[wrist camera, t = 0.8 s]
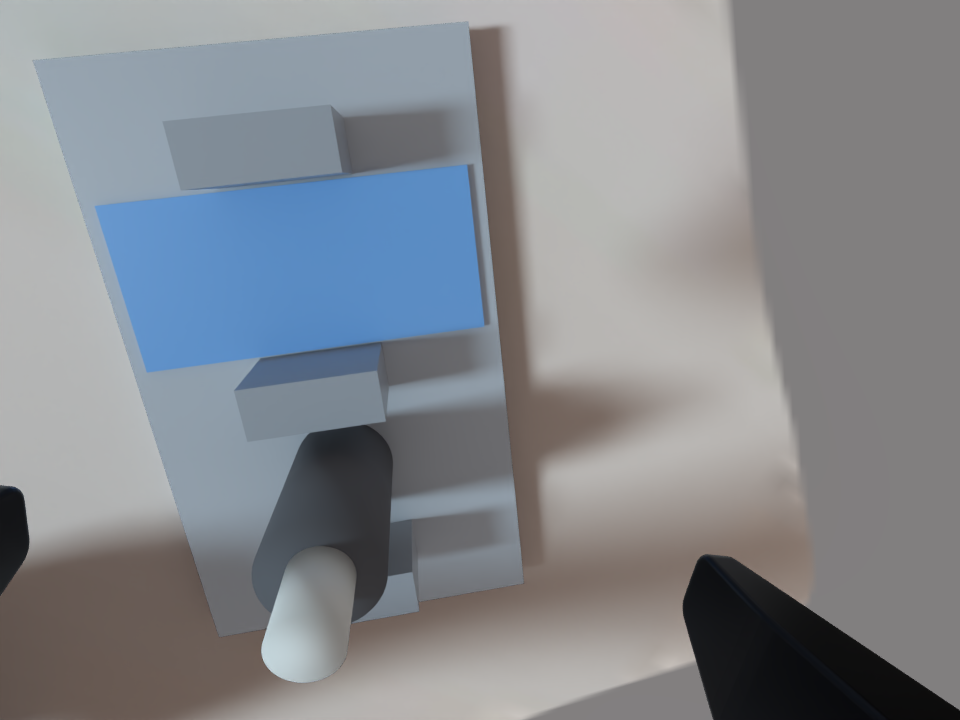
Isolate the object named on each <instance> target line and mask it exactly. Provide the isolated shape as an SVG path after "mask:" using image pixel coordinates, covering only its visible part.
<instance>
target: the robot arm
mask: <svg viewBox="0 0 960 720" xmlns="http://www.w3.org/2000/svg"><path fill="white" fill-rule="evenodd" d="M28 549H29V532H28V524H27V516H26V508H25V500H24V496H23V494H22V492H21V491H20V490H19V489H18V488H16V487H12V486H2V485H0V596H1V594H2V593H3V591H4V590H5V588H6V587H7V585H8V584H9V582H10V581H11V579H12V578H13V577H14V575H15V574H16V572H17V571H18V569H19V568H20V566H21V565H22V563H23V561H24V560H25V557H26V555H27V552H28ZM683 616H684V620H685V623H686V627H687V630H688V634H689V637H690V641H691V645H692V648H693V652H694V655H695V659H696V662H697V666H698V669H699V673H700V676H701V679H702V683H703V687H704V690H705V694H706V697H707V701H708V704H709V708H710V711H711V714H712V717H713V720H960V710H959V709H957V708H956V707H954V706H953V705H951V704H950V703H948V702H947V701H945V700H944V699H942V698H941V697H939V696H938V695H936V694H935V693H933V692H932V691H930V690H929V689H927V688H926V687H924V686H923V685H921V684H920V683H918V682H917V681H915V680H914V679H912V678H911V677H909V676H908V675H906V674H905V673H903V672H902V671H900V670H899V669H897V668H896V667H895V666H893V665H891V664H890V663H888V662H887V661H886V660H884V659H883V658H881V657H880V656H878V655H877V654H875V653H874V652H872V651H871V650H869V649H868V648H866V647H865V646H863V645H861V644H860V643H859V642H857V641H856V640H854V639H853V638H851V637H850V636H848V635H847V634H845V633H844V632H842V631H841V630H839V629H838V628H836V627H835V626H833V625H832V624H830V623H829V622H827V621H826V620H825V619H823V618H822V617H820V616H819V615H817V614H816V613H814V612H813V611H811V610H810V609H808V608H807V607H805V606H804V605H802V604H801V603H799V602H798V601H796V600H795V599H793V598H792V597H790V596H789V595H787V594H786V593H784V592H783V591H781V590H780V589H778V588H777V587H775V586H774V585H772V584H771V583H769V582H768V581H766V580H765V579H763V578H762V577H760V576H759V575H758V574H756V573H755V572H753V571H752V570H750V569H749V568H747V567H746V566H744V565H743V564H741V563H740V562H738V561H737V560H735V559H733V558H731V557H728V556H719V555H709V554H705V555H703V556H701V557H700V558H699V559H698V561H697V563H696V565H695V568H694V571H693V574H692V577H691V579H690V582H689V585H688V588H687V591H686V593H685V596H684V600H683Z"/></svg>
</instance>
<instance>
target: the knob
mask: <svg viewBox="0 0 960 720" xmlns="http://www.w3.org/2000/svg"><path fill="white" fill-rule="evenodd" d="M392 473H393V457H392V453H391V450H390V448H389V445H388V444H387V442H386V441H385V439H384V438H383V437H382V436H381V435H380V434H379V433H378V432H377V431H375V430H374V429H373V428H371V427H369V426H367V425H359V426H352V427H345V428H339V429H332V430H325V431H318V432H312V433H309V434H308V435H307V436H306V437H305V439H304V440H303V441H302V443H301V445H300V447H299V449H298V451H297V454H296V456H295V459H294V461H293V464H292V466H291V469H290V471H289V474H288V476H287V479H286V481H285V484H284V486H283V489H282V491H281V494H280V496H279V499H278V501H277V503H276V506H275V508H274V511H273V513H272V516H271V518H270V521H269V523H268V526H267V528H266V531H265V533H264V536H263V538H262V541H261V543H260V546H259V548H258V551H257V553H256V556H255V558H254V562H253V565H252V572H251V574H252V584H253V588H254V591H255V594H256V596H257V598H258V599H259V601H260V602H261V604H262V605H263V606H264V608H266V609H267V610H268V611H269V612H270V613H271V617H270V620H269V624H268V627H267V630H266V633H265V637H264V640H263V643H262V648H261V653H262V658H263V661H264V663H265V664H266V666H267V667H268V669H269V670H270V671H271V672H272V673H274V674H275V675H277V676H278V677H280V678H282V679H285V680H288V681H291V682H298V683H308V682H315V681H319V680H321V679H324V678H326V677H328V676H330V675H332V674H333V673H334V672H336V671H337V670H338V669H339V668H340V667H341V665H342V664H343V662H344V660H345V658H346V655H347V650H348V642H349V634H350V626H351V623H352V622H354V621H356V620H358V619H360V618H361V617H363V616H364V615H366V614H367V613H368V612H369V611H371V610H372V609H373V608H374V606H375V605H376V604H377V603H378V601H379V600H380V599H381V597H382V595H383V593H384V590H385V588H386V584H387V580H388V560H389V539H390V517H391V495H392Z"/></svg>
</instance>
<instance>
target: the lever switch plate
mask: <svg viewBox="0 0 960 720" xmlns="http://www.w3.org/2000/svg"><path fill="white" fill-rule="evenodd" d="M33 63H34V66H35V69H36V72H37V75H38V78H39V81H40V84H41V87H42V90H43V94H44V97H45V100H46V103H47V106H48V109H49V112H50V115H51V118H52V121H53V124H54V128H55V131H56V134H57V137H58V140H59V143H60V146H61V149H62V152H63V155H64V159H65V162H66V165H67V168H68V171H69V174H70V177H71V180H72V183H73V186H74V190H75V193H76V196H77V199H78V202H79V205H80V208H81V211H82V214H83V217H84V221H85V224H86V227H87V230H88V233H89V236H90V239H91V242H92V245H93V248H94V252H95V255H96V258H97V261H98V264H99V267H100V270H101V273H102V276H103V279H104V283H105V286H106V289H107V292H108V295H109V298H110V301H111V304H112V307H113V310H114V314H115V317H116V320H117V323H118V326H119V329H120V332H121V335H122V338H123V341H124V345H125V348H126V351H127V354H128V357H129V360H130V363H131V366H132V369H133V372H134V375H135V379H136V382H137V385H138V388H139V391H140V394H141V397H142V400H143V403H144V406H145V410H146V413H147V416H148V419H149V422H150V425H151V428H152V431H153V434H154V437H155V441H156V444H157V447H158V450H159V453H160V456H161V459H162V462H163V465H164V468H165V472H166V475H167V478H168V481H169V484H170V487H171V490H172V493H173V496H174V499H175V503H176V506H177V509H178V512H179V515H180V518H181V521H182V524H183V527H184V530H185V534H186V537H187V540H188V543H189V546H190V549H191V552H192V555H193V558H194V561H195V565H196V568H197V571H198V574H199V577H200V580H201V583H202V586H203V589H204V592H205V595H206V599H207V602H208V605H209V608H210V611H211V614H212V617H213V620H214V623H215V626H216V630H217V633H218V636H219V637H223V636H229V635H235V634H240V633H246V632H252V631H257V630H263V629H267V627H268V624H269V620H270V617H271V613H270V612H269V611H268V610H267V609H266V608H264V606H263V605H262V604H261V602H260V601H259V599H258V598H257V596H256V594H255V591H254V588H253V584H252V574H251V572H252V565H253V562H254V558H255V556H256V553H257V551H258V548H259V546H260V543H261V541H262V538H263V536H264V533H265V531H266V528H267V526H268V523H269V521H270V518H271V516H272V513H273V511H274V508H275V506H276V503H277V501H278V499H279V496H280V494H281V491H282V489H283V486H284V484H285V481H286V479H287V476H288V474H289V471H290V469H291V466H292V464H293V461H294V459H295V456H296V454H297V451H298V449H299V447H300V445H301V443H302V441H303V440H304V439H305V437H306V436H307V435H308V434H309V433H312V432H318V431H325V430H332V429H339V428H345V427H352V426H359V425H367V426H369V427H371V428H373V429H374V430H375V431H377V432H378V433H379V434H380V435H381V436H382V437H383V438H384V439H385V441H386V442H387V444H388V445H389V448H390V450H391V453H392V457H393V473H392V495H391V517H390V539H389V560H388V580H387V584H386V588H385V590H384V593H383V595H382V597H381V599H380V600H379V601H378V603H377V604H376V605H375V606H374V608H373V609H372V610H371V611H369V612H368V613H367V614H366V615H364V616H363V617H361V618H360V619H358V620H356V621H354V622H352V623H357V622H363V621H368V620H374V619H380V618H385V617H391V616H397V615H402V614H408V613H413V612H419V602H422V601H427V600H433V599H439V598H444V597H450V596H456V595H461V594H467V593H473V592H478V591H484V590H490V589H495V588H501V587H507V586H512V585H518V584H524V578H523V568H522V558H521V548H520V538H519V528H518V518H517V508H516V498H515V487H514V477H513V467H512V457H511V447H510V437H509V427H508V417H507V407H506V397H505V387H504V377H503V367H502V357H501V347H500V336H499V326H498V316H497V306H496V296H495V286H494V276H493V266H492V256H491V246H490V236H489V226H488V216H487V206H486V196H485V186H484V175H483V165H482V155H481V145H480V135H479V125H478V115H477V105H476V95H475V85H474V75H473V65H472V55H471V45H470V35H469V24H468V22H457V23H445V24H434V25H423V26H412V27H401V28H389V29H378V30H367V31H356V32H345V33H333V34H322V35H311V36H300V37H289V38H277V39H266V40H255V41H244V42H233V43H221V44H210V45H199V46H188V47H177V48H165V49H154V50H143V51H132V52H121V53H109V54H98V55H87V56H76V57H65V58H53V59H42V60H33ZM352 623H351V624H352Z"/></svg>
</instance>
